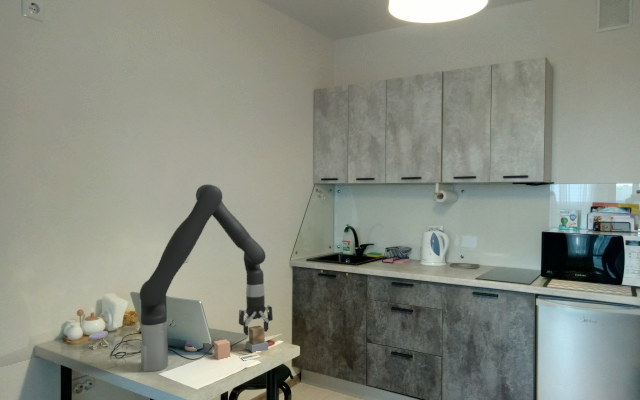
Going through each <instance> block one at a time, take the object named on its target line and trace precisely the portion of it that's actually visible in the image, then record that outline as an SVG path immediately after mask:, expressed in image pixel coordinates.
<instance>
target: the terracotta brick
mask: <svg viewBox="0 0 640 400" xmlns="http://www.w3.org/2000/svg"><path fill="white" fill-rule="evenodd" d="M213 350H214V351H213V353H214V357H215V358H216V359H217V360H218V361H219V360H224V358H225V359H228V357H230V358H231V341H229V340H228V339H226V338H225V339H220V340H215V341H213Z"/></svg>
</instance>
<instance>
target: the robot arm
mask: <svg viewBox="0 0 640 400" xmlns="http://www.w3.org/2000/svg"><path fill="white" fill-rule="evenodd" d="M195 199H196V202H195V204H194V206H193V208H192V209H191V212H190V213H189V214H188V216H187V217H186V218H185V219H184V220H183V221H182V222H181V224H179V226H178V227H177V228H176V229H175V230H174V233H173V234H172V235H171V238H170V239H169V241H168V243H167V244H166V246H165V248H164V251H163V252H162V255H161V257H160V260H159V262H158V264H157V266H156V268H155V270H154V271H153V272H152V274H151V276H150V277H149V279H147V280H146V281H144V283H143V284H142V285H141V288H140V290H139V299H140V325H141V326H140V329H141V330H140V331H141V332H140V333H141V335H140V336H141V342H140V358H141V360H140V361H141V362H140V363H141V368H142V370H143V372H144V373H145V372H156V371H161V370H163V369H166V368H167V367H168V366H169V349H168V323H167V322H168V321H167V319H168V317H167V316H168V315H167V313H168V310H167V309H168V307H167V294H168V293H167V292H168V290H169V288H170V286H171V283H172V282H173V280H174V278H175V276H176V275H177V273H178V272H179V271H180V270H181V268H182V266H183V265H184V264H185V262H186V261H187V259H188V257H189V256H190V255H191V252H192V251H193V250H194V247H195V245H197V242H198V240H199V239H200V236H201V235H202V234H203V231H204V229H205V226H206V225H207V223H208V222H209V220H210V219H211V217H214V219H215V220H216V221H217V223H218V224H219V226H220V227H222V229H223V230H224V232H225V233H226V234H227V236H228V238H230V240H231V241H232V242H233V243H234V245H235V246H236V247H237V248H238V249H240V250H241V251H242V252H244V253H243V262H244V270H245V271H246V288H245V289H246V290H245V291H246V292H245V295H246V309H245V310H244V309H243V310H242V309H239V311H238V325H241V326H243V334H244V335H245V336H249V324H250V323H251V322H252V320H258V319H262V320H263V328H264V333H265V332H268V330H269V322H270V321H273V320H274V319H273V307H272V306H271V305H267V306H265V303H266V301H265V285H264V283H265V281H264V279H265V278H264V271H263V270H262V269H261V265H262V264H263V263H264V261H265V259H266V252H265V250H264V248H263V247H262V246H261V245H260V244H259V243H258V242H257V241H256V240H255V239H254V238H252V236H251V234H250V233H249V232H248V231H247V229H246V228H245V227H244V225H243V224H242V223H241V222H240V221H239V220H238V219H237V218H236V217H235V215H233V214H232V213H231V212H230V211H229V209H228V208H227V207H226V206H225V204H224V202H223V201H222V200H223V192H222V191H221V188H219V187H218V186H216V185H214V184H213V185H212V184H202V185H200V186H199V187H198V188H197V190H196V193H195ZM265 312H267V316H266V315H265ZM246 314H247V316H246ZM244 318H245V319H244Z"/></svg>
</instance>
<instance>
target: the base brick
mask: <svg viewBox="0 0 640 400" xmlns="http://www.w3.org/2000/svg"><path fill="white" fill-rule="evenodd" d="M245 347H247V348H248V349H249V350H250V351H251V352H252V353H251V352H250V351H249V350H248V351H249V352H250V353H251V354H254V353H253V352H256V351H261V352H265V351H269V342H268V341H266V340H265V343H261V344H256V345H253V344H251V343H250V342H249V340H246V341H245Z"/></svg>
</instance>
